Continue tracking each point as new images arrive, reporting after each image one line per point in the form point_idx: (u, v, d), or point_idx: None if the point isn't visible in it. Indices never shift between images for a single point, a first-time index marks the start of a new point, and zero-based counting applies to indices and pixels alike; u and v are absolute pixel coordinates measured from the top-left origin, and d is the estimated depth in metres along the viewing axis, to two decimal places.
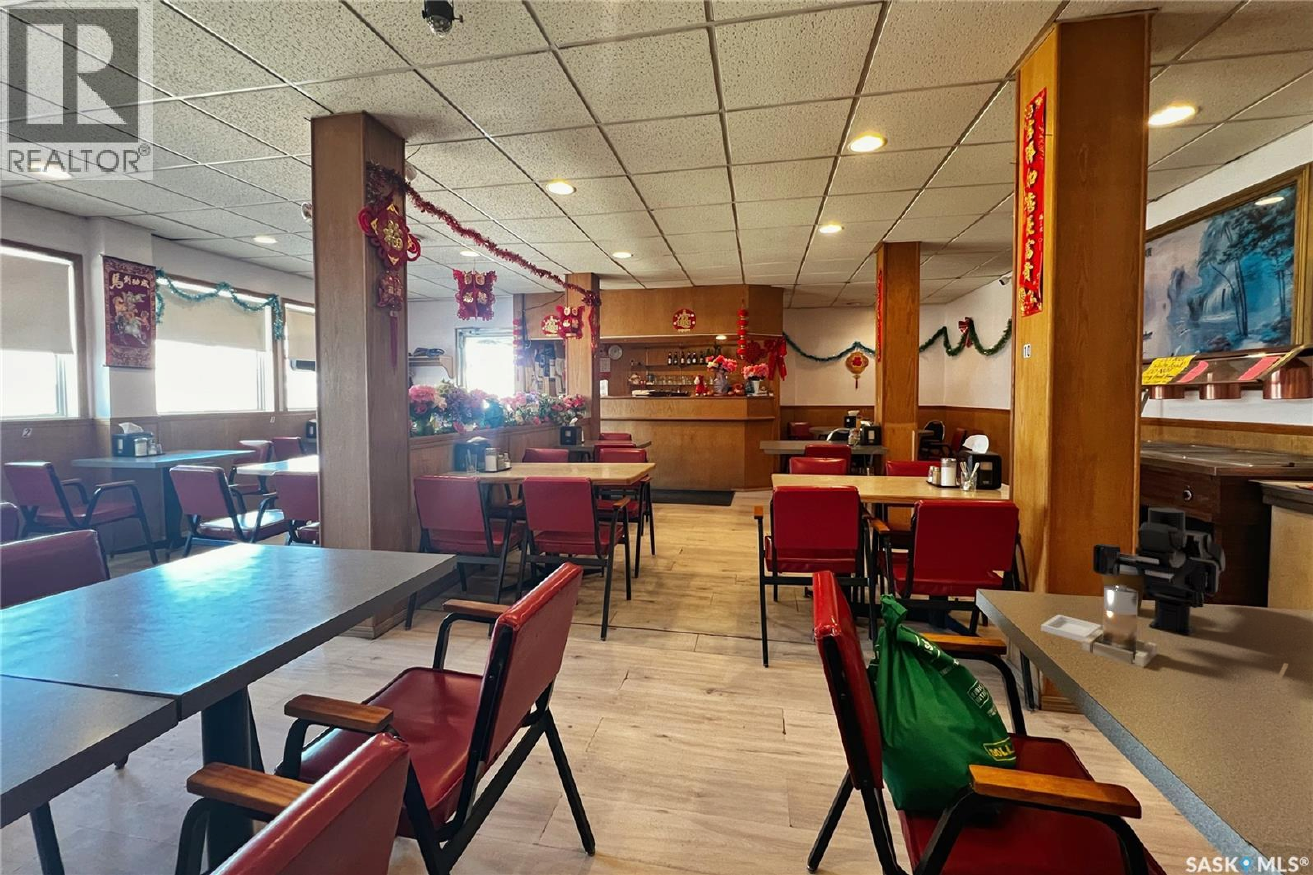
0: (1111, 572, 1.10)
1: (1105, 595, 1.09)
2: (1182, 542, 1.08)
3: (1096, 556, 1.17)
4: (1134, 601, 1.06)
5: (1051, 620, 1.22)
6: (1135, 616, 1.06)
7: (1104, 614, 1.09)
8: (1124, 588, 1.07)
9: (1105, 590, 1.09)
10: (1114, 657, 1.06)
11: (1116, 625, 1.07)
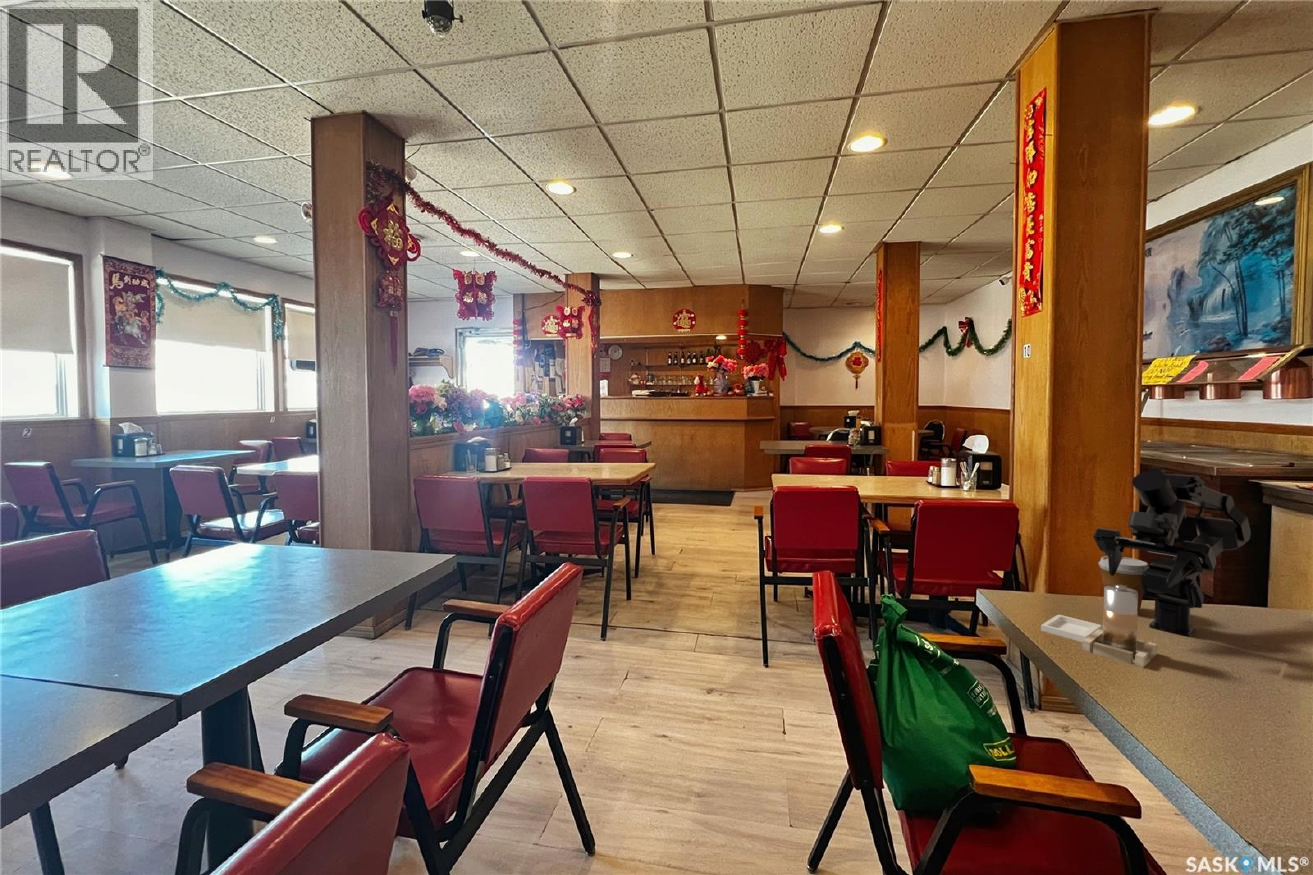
0: (1113, 574, 1.16)
1: (1105, 595, 1.09)
2: (1172, 529, 1.10)
3: (1098, 542, 1.22)
4: (1134, 601, 1.06)
5: (1051, 620, 1.22)
6: (1135, 616, 1.06)
7: (1104, 614, 1.09)
8: (1124, 588, 1.07)
9: (1105, 590, 1.09)
10: (1114, 657, 1.06)
11: (1116, 625, 1.07)
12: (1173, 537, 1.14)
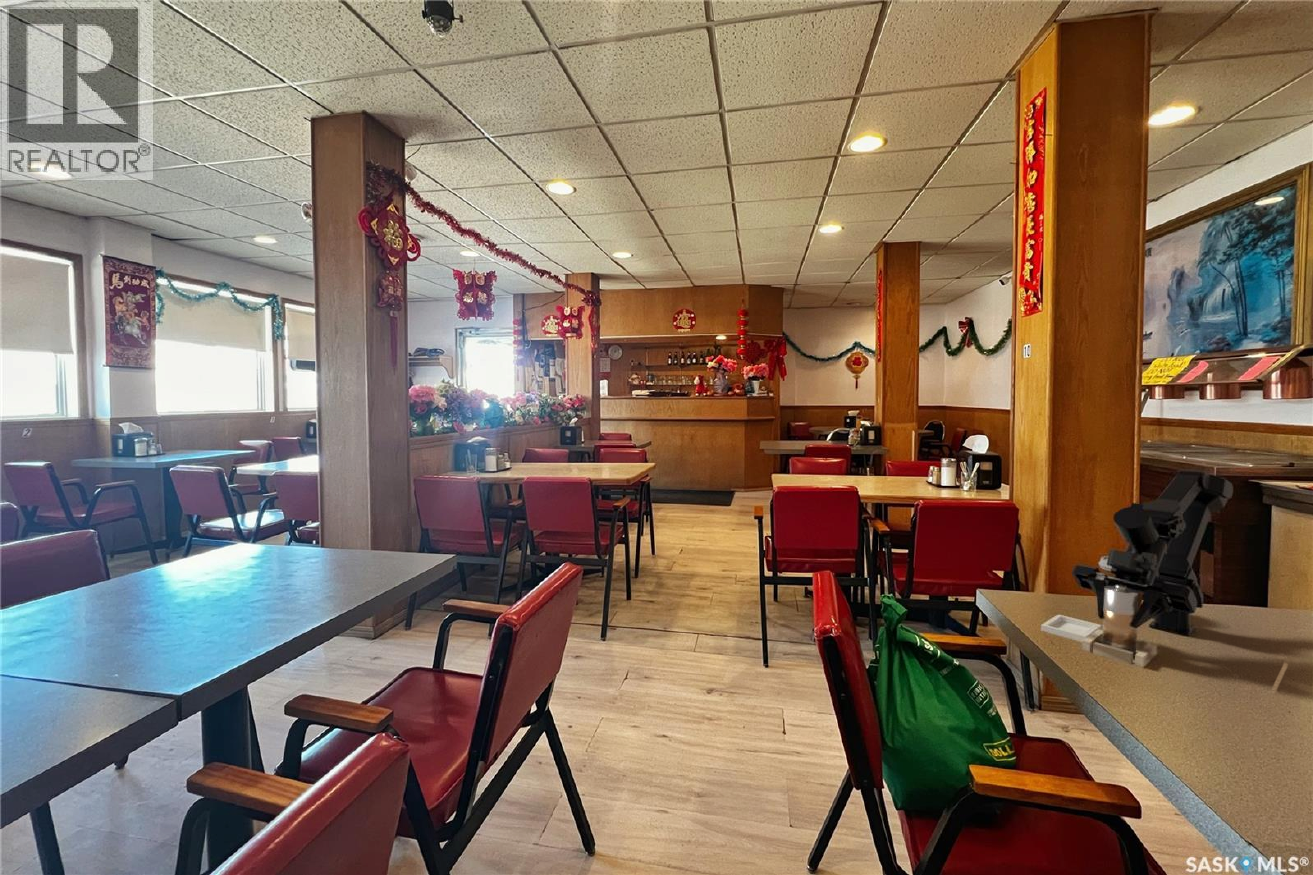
0: (1102, 616, 1.11)
1: (1105, 595, 1.09)
2: (1151, 569, 1.05)
3: (1077, 578, 1.18)
4: (1134, 601, 1.06)
5: (1051, 620, 1.22)
6: None
7: (1104, 614, 1.09)
8: (1124, 588, 1.07)
9: (1105, 590, 1.09)
10: (1114, 657, 1.06)
11: (1116, 625, 1.07)
12: (1153, 576, 1.09)
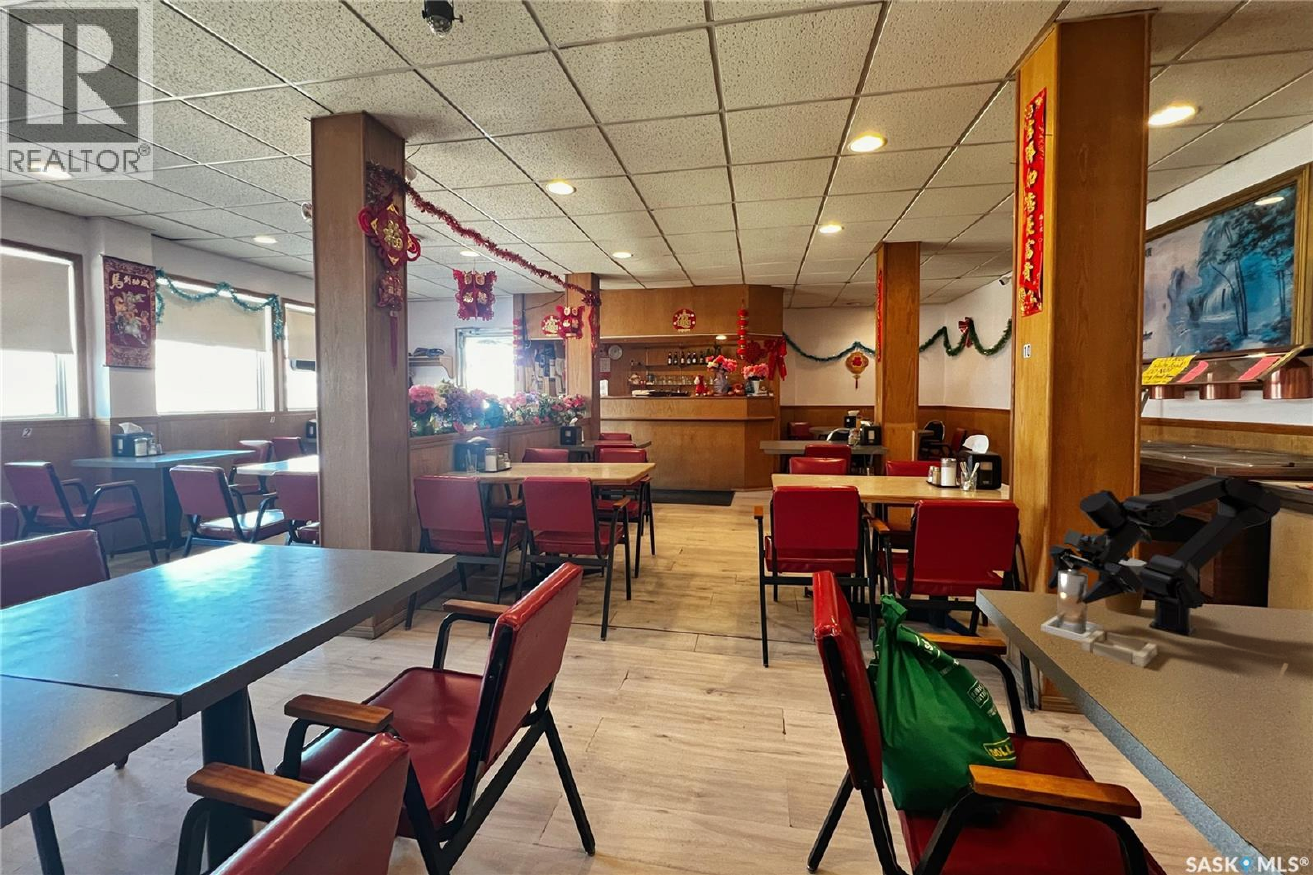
0: (1052, 587, 1.24)
1: (1058, 577, 1.21)
2: (1097, 549, 1.15)
3: None
4: (1078, 583, 1.17)
5: (1051, 620, 1.22)
6: (1080, 597, 1.17)
7: None
8: (1073, 571, 1.18)
9: (1058, 572, 1.21)
10: (1114, 657, 1.06)
11: (1062, 603, 1.19)
12: (1113, 558, 1.16)
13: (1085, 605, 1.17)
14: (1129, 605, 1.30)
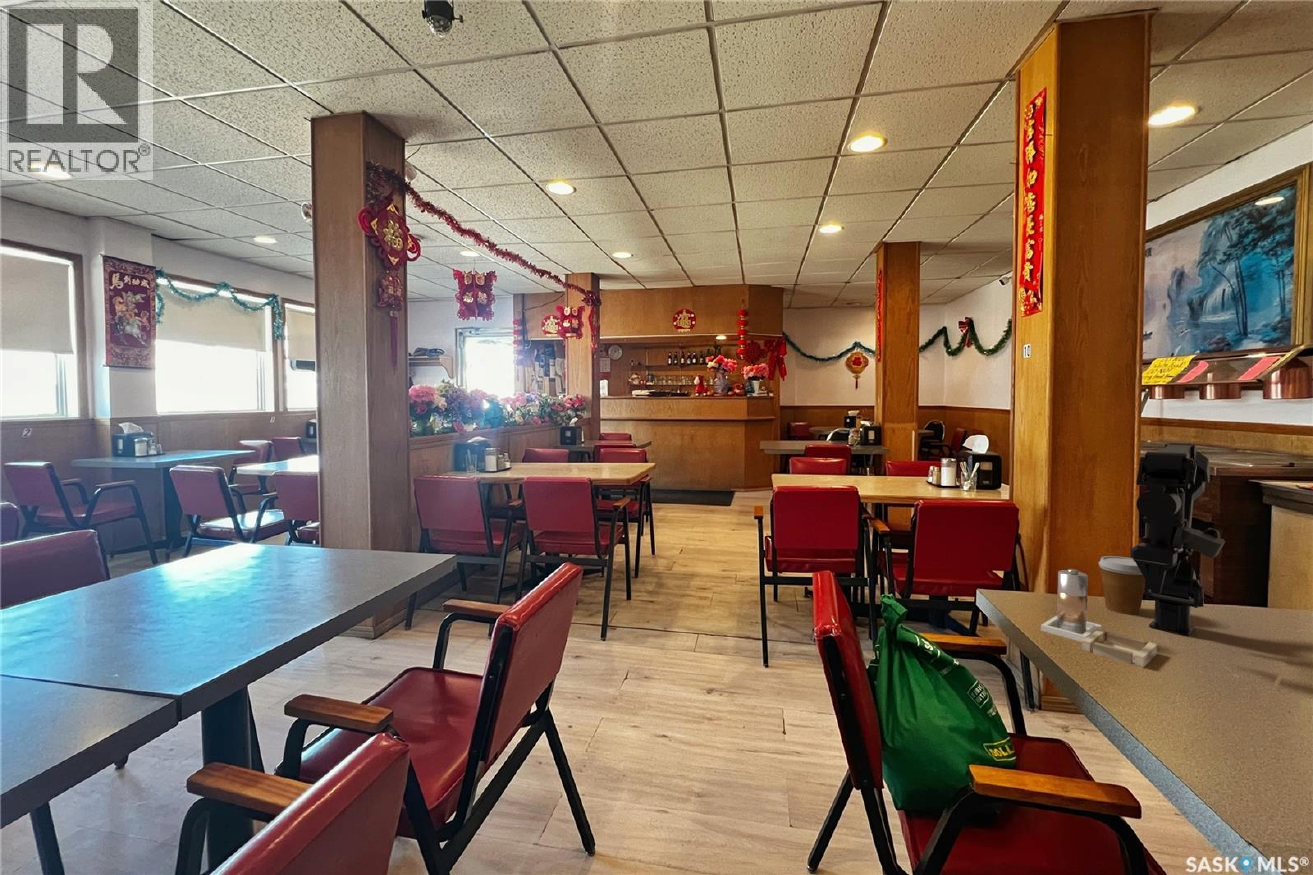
0: None
1: (1058, 577, 1.21)
2: None
3: (1154, 561, 1.06)
4: (1079, 584, 1.16)
5: (1051, 620, 1.22)
6: (1080, 597, 1.17)
7: None
8: (1073, 572, 1.18)
9: (1058, 572, 1.21)
10: (1114, 657, 1.06)
11: (1062, 604, 1.19)
12: None
13: (1085, 605, 1.17)
14: (1129, 605, 1.30)
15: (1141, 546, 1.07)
